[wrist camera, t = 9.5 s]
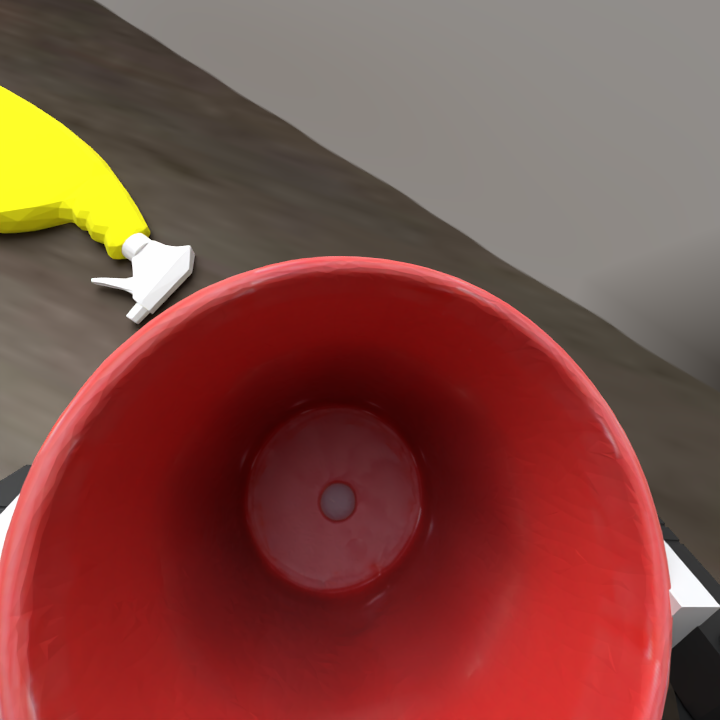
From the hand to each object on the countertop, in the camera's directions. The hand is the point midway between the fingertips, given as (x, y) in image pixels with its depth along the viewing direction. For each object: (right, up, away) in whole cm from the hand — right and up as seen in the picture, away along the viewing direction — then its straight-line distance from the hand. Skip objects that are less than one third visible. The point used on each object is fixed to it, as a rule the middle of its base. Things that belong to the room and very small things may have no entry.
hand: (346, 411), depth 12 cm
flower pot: (-1, -4, +3) cm, 5 cm away
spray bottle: (-24, +14, +19) cm, 34 cm away
